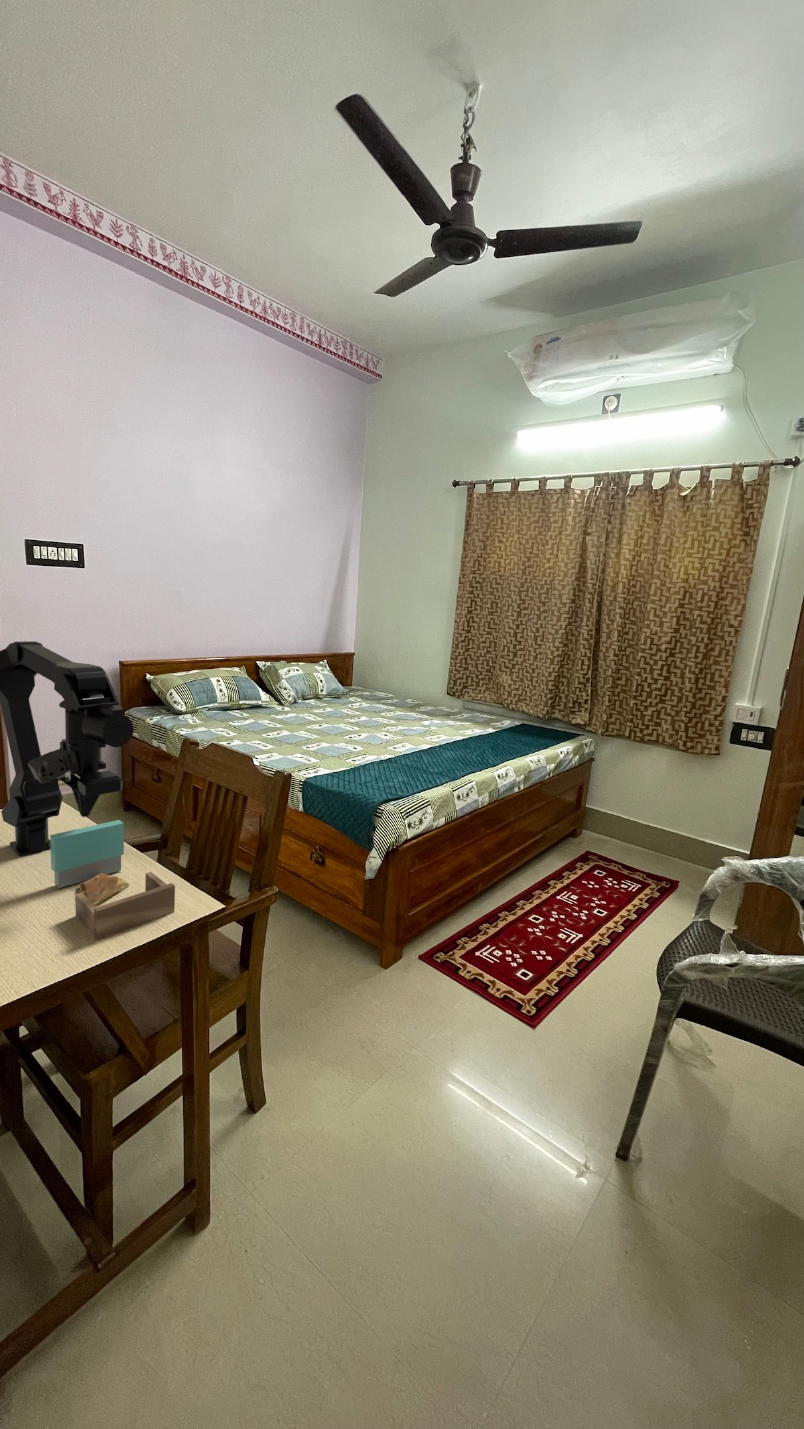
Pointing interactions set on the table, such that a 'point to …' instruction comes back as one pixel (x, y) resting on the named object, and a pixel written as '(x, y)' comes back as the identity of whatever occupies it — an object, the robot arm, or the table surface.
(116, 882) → the shard
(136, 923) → the box
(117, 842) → the block
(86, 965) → the table surface
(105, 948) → the table surface
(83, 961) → the table surface
